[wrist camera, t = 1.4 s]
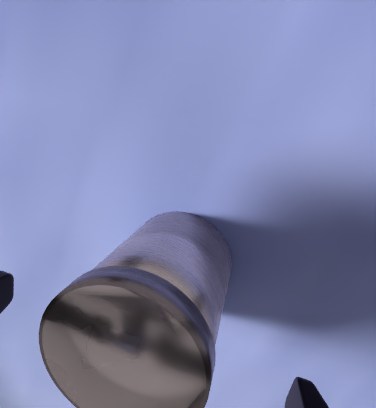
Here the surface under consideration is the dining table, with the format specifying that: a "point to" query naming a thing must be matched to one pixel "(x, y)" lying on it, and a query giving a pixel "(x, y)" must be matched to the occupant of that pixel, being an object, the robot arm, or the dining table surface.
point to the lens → (142, 319)
